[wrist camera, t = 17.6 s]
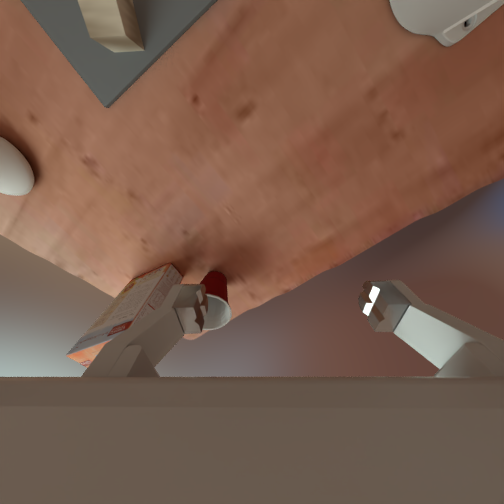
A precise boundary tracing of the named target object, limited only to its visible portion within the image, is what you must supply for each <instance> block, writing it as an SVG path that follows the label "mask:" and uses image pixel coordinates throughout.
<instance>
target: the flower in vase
mask: <svg viewBox="0 0 504 504" xmlns="http://www.w3.org/2000/svg"><path fill="white" fill-rule="evenodd" d="M33 185H34V174H33V171H32V169H31V167H30V165H29V163H28V161H27V160H26V159H25V157H24V156H23V155H22V154H21V152H20V151H19V150H18V149H17V148H16V147H14V146H13V145H12V144H11V143H9V142H8V141H7V140H5V139H4V138H2V137H0V193H3V194H8V195H17V196H18V195H25V194H27V193H29V192H30V191H31V189H32V187H33Z"/></svg>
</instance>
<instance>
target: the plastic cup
mask: <svg viewBox="0 0 504 504" xmlns="http://www.w3.org/2000/svg"><path fill="white" fill-rule="evenodd" d="M200 284H204V285H205V288H206V291H205V295H207V297H208V311H207V314H206V315H205V316H204V321H205V322H204V325H203V330H215V329H218V328H220V327H223V326H224V325H226V324H227V323H228V322H229V320H230V318H231V316H232V315H231V308H230V306H229V304H228V297H227V281H226V277H225V276H224V275H223V274H222V273H220V272H217V271H212V272H209V273H208V274H207V275H206V276H205V277H204V279H203V280H202V281H201V283H200Z"/></svg>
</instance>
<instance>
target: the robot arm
mask: <svg viewBox="0 0 504 504" xmlns="http://www.w3.org/2000/svg"><path fill="white" fill-rule="evenodd" d="M503 4H504V0H390V5H391V8H392V11H393V13H394V15H395V17H396V19H397V20H398V22H399V23H400V24H401V25H402V26H403V27H404V28H405V29H407V30H408V31H410V32H412V33H416V34H423V35H431V36H434V37H435V38H436V39H437V40H438V41H439V42H440V43H441V44H442V45H444V46H452V45H453V44H455V43H457V42H458V41H460V40H461V39H462V38H464V37H465V36H466V35H467V34H468V33H469V32H471V31H472V30H473V29H474V28H475V27H477V26H478V25H479V24H480V23H481V22H483V21H484V20H485V19H486V18H487V17H489V16H490V15H491V14H492V13H493V12H495V11H496V10H497V9H498V8H499V7H500V6H502V5H503ZM465 21H466V26H465V27H464V23H465ZM363 289H364V291H363V292H362V293H360V295H359V298H358V300H359V306H360V308H361V310H362V312H363V313H365V314H366V315H368V319H367V320H368V321H369V323H370V325H371V326H372V328H373V329H374V331H376V332H394V334H396V335H397V336H398V337H400V338H401V339H402V340H403V341H405V342H406V343H407V344H409V345H410V346H411V347H413V348H414V349H415V350H416V351H417V352H419V353H420V354H421V355H423V356H424V357H425V358H426V359H428V360H429V361H430V362H432V363H433V364H434V365H435V366H437V367H438V368H439V369H440V370H439V371H438V372H437V373H436V374H435V375H434V377H160V376H159V374H158V373H157V371H156V370H155V368H154V367H155V366H156V365H157V364H158V363H159V362H160V361H161V360H162V359H163V357H164V356H165V355H166V354H167V353H168V352H169V351H170V350H171V349H172V348H173V347H174V345H175V344H176V343H177V342H178V341H179V340H180V339H181V338H182V337H183V336H184V334H193V333H201V332H202V329H203V325H204V322H205V321H204V316H205V315H206V314H207V311H208V297H207V295H205V291H206V288H205V285H204V284H175V285H173V286H172V288H171V290H170V291H169V293H168V295H167V297H166V298H165V300H164V302H163V304H162V305H161V307H160V308H157V309H155V310H154V311H152V312H151V313H150V314H148V315H147V316H145V317H144V318H142V319H141V320H139V321H138V322H137V323H135V324H134V325H132V326H131V327H129V328H128V329H126V330H125V331H124V332H122V333H121V334H119V335H118V336H116V337H115V338H113V339H112V340H111V341H109V342H108V343H106V344H105V345H104V346H103V348H102V349H101V351H100V352H99V353H98V355H97V356H96V357H95V359H94V360H93V361H92V363H91V364H90V365H89V367H88V368H87V369H86V371H85V372H84V373H83V375H82V376H81V377H0V504H504V340H501V339H499V338H497V337H495V336H493V335H491V334H489V333H487V332H485V331H483V330H481V329H479V328H477V327H475V326H472V325H470V324H468V323H466V322H464V321H462V320H460V319H458V318H456V317H454V316H452V315H450V314H448V313H446V312H444V311H441V310H439V309H437V308H435V307H433V306H431V305H426V304H425V303H423V302H422V301H421V300H420V299H419V298H418V297H417V296H416V295H415V294H414V293H413V292H412V291H411V290H410V289H409V288H408V287H407V286H406V285H405V284H404V283H403V282H401V281H399V280H387V281H366V282H365V283H364V284H363Z"/></svg>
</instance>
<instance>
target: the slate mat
mask: <svg viewBox="0 0 504 504" xmlns="http://www.w3.org/2000/svg"><path fill="white" fill-rule="evenodd" d="M21 1H22V3H23V4H24V5H25V6H26V8H27V9H28V10H29V12H30V13H31V14H32V15H33V17H34V18H35V19H36V20H37V22H38V23H39V24H40V25H41V27H42V28H43V29H44V31H45V32H46V33H47V34H48V36H49V37H50V38H51V39H52V41H53V42H54V43H55V45H56V46H57V47H58V48H59V50H60V51H61V52H62V53H63V55H64V56H65V57H66V59H67V60H68V61H69V62H70V64H71V65H72V66H73V67H74V69H75V70H76V71H77V72H78V74H79V75H80V76H81V78H82V79H83V80H84V81H85V83H86V84H87V85H88V86H89V88H90V89H91V90H92V92H93V93H94V94H95V95H96V97H97V98H98V99H99V100H100V102H101V103H102V104H103V105H104V107H106V108H109V107H110V106H111V105H112V104H113V103H114V102H115V101H116V100H117V99H118V98H119V97H120V96H121V95H122V94H123V93H124V92H125V91H126V90H127V89H128V88H129V87H130V86H131V85H132V84H133V83H134V82H135V81H136V80H137V79H138V78H139V77H140V76H141V75H142V74H143V73H144V72H145V71H146V70H147V69H148V68H149V67H150V66H151V65H152V64H153V63H154V62H155V61H156V60H157V59H158V58H159V57H160V56H162V55H163V54H164V53H165V52H166V51H167V50H168V49H169V48H170V47H171V46H172V45H173V44H174V43H175V42H176V41H177V40H178V39H179V38H180V37H181V36H182V35H183V34H184V33H185V32H186V31H187V30H188V29H189V28H190V27H191V26H192V25H193V24H194V23H195V22H196V21H197V20H198V19H199V18H200V17H201V16H202V15H203V14H204V13H205V12H206V11H207V10H208V9H209V8H210V7H211V6H212V5H213V4H214V3H215V2H216V1H217V0H133V4H134V9H135V13H136V17H137V21H138V25H139V29H140V34H141V38H142V42H143V46H144V50H145V51H132V52H115V53H114V52H113V51H111V50H109V49H108V48H106V47H105V46H103V45H101V44H100V43H98V42H96V41H95V40H93V39H92V38H90V35H89V32H88V29H87V26H86V24H85V21H84V18H83V15H82V12H81V9H80V6H79V3H78V0H21Z"/></svg>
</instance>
